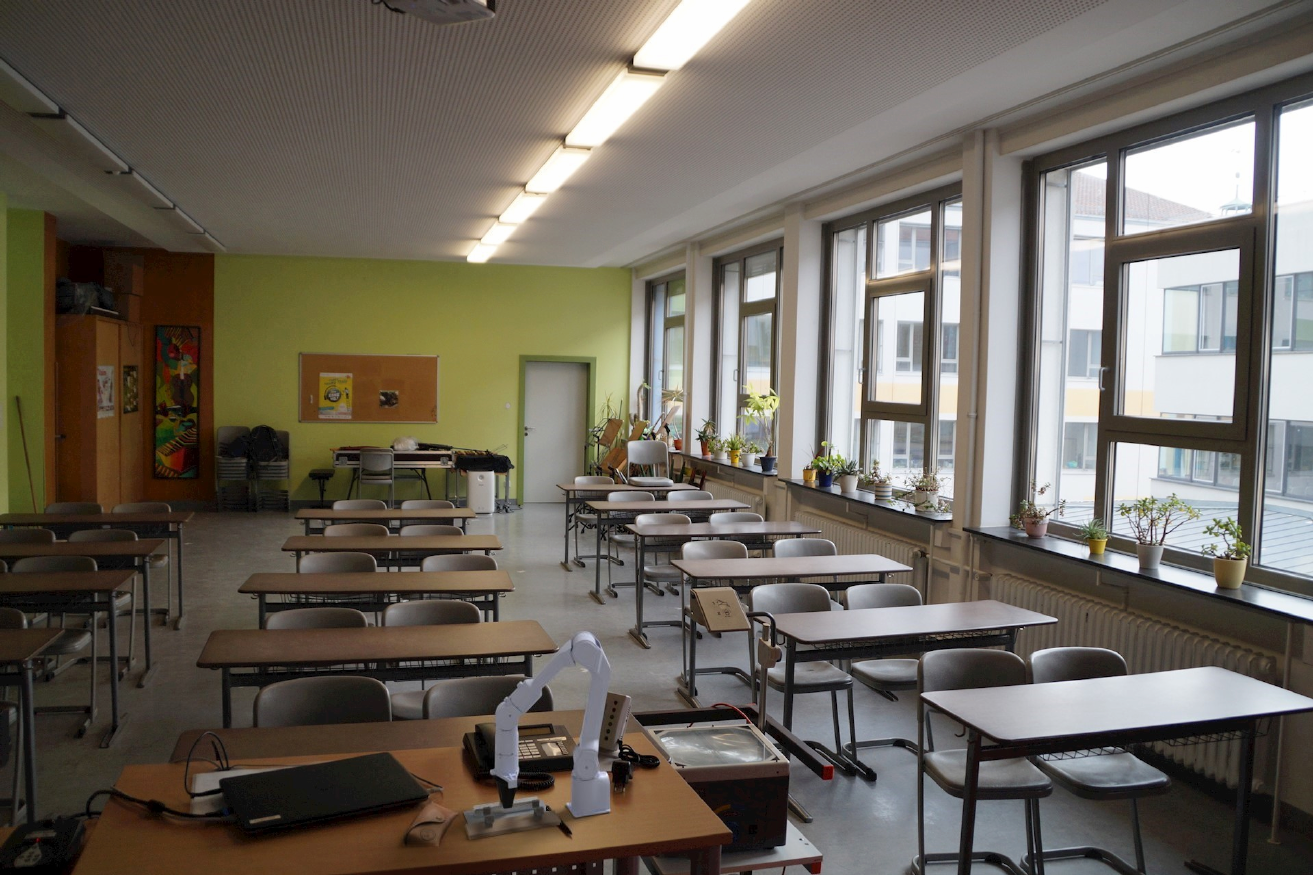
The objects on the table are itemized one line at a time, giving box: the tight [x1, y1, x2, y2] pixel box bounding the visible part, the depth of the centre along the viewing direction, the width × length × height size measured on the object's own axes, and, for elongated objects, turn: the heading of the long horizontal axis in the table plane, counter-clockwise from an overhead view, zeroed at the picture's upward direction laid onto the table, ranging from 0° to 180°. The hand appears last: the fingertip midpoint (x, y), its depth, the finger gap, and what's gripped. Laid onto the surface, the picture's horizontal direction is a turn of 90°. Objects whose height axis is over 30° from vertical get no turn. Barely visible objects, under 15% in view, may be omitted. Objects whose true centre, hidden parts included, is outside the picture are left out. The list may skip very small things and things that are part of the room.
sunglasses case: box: [403, 799, 459, 847], centre depth 214 cm, size 18×7×7 cm
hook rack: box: [464, 798, 562, 840], centre depth 216 cm, size 22×6×5 cm, turn 112°
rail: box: [472, 795, 539, 818], centre depth 223 cm, size 16×2×2 cm, turn 112°
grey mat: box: [463, 799, 547, 824], centre depth 223 cm, size 20×7×1 cm, turn 112°
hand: (506, 805), depth 223 cm, fingers open, 2 cm apart
